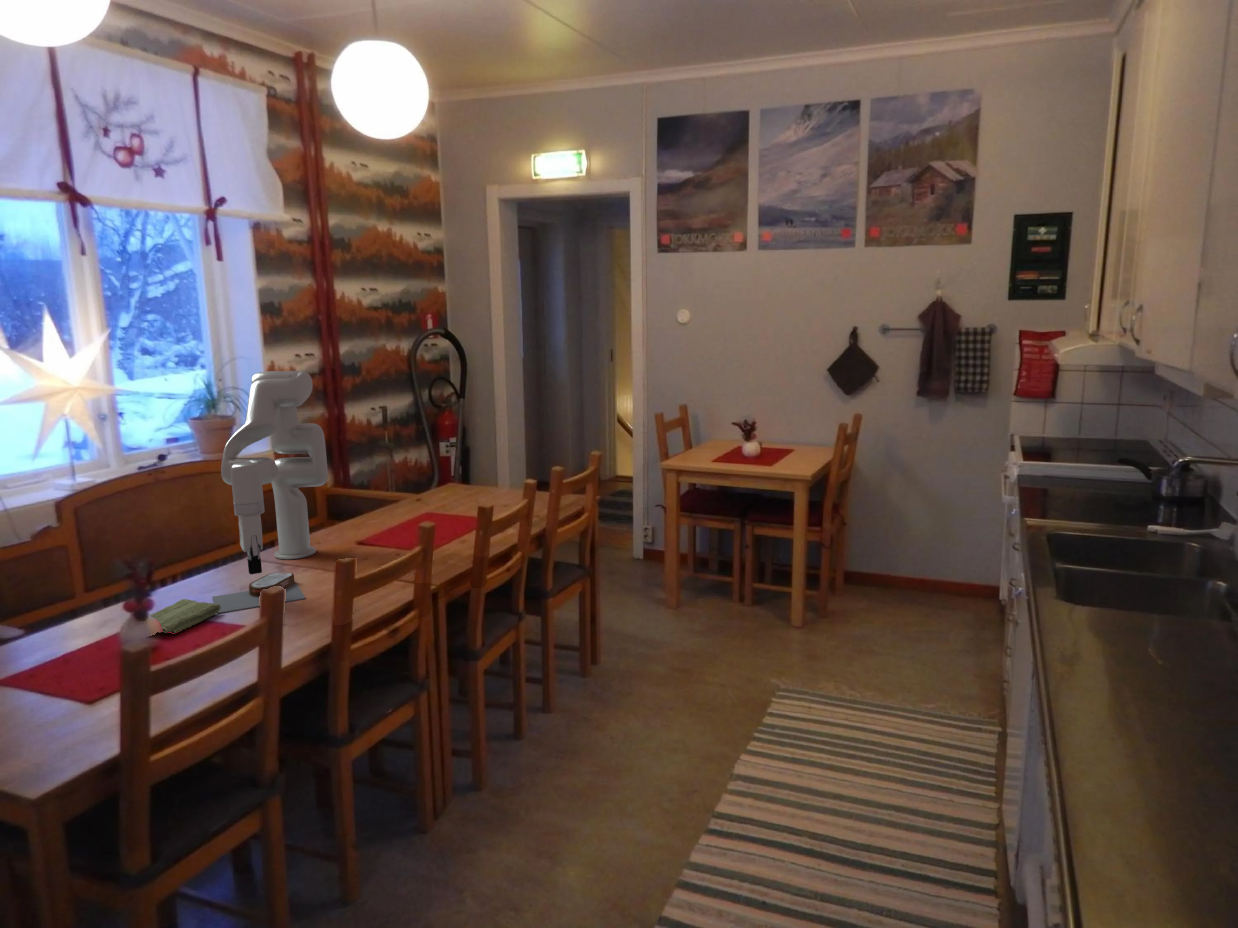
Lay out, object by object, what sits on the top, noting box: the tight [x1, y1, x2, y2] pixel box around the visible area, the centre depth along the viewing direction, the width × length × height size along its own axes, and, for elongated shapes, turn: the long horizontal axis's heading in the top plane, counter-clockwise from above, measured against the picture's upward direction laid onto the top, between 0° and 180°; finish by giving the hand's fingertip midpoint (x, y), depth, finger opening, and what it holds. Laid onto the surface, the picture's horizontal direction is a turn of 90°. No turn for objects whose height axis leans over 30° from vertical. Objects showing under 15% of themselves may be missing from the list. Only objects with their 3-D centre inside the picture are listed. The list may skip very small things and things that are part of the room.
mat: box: [211, 582, 307, 615], centre depth 232 cm, size 15×22×1 cm
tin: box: [248, 571, 296, 596], centre depth 239 cm, size 15×3×8 cm
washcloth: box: [149, 598, 221, 634], centre depth 214 cm, size 13×18×3 cm
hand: (255, 572), depth 233 cm, fingers closed
